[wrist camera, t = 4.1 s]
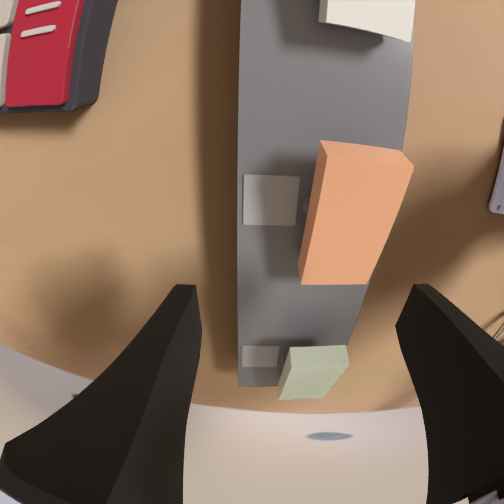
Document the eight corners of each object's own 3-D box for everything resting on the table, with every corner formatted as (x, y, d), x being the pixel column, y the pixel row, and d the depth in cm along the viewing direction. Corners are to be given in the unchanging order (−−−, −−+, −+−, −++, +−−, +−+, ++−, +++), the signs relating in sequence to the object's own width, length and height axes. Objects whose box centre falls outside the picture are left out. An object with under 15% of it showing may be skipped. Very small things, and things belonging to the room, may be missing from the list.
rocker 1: (345, 344, 17) (349, 364, 16) (321, 382, 22) (322, 397, 21) (289, 347, 17) (291, 367, 16) (277, 384, 22) (278, 400, 21)
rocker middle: (400, 150, 11) (414, 166, 10) (360, 264, 16) (366, 284, 15) (319, 139, 11) (327, 155, 10) (297, 263, 16) (300, 284, 15)
